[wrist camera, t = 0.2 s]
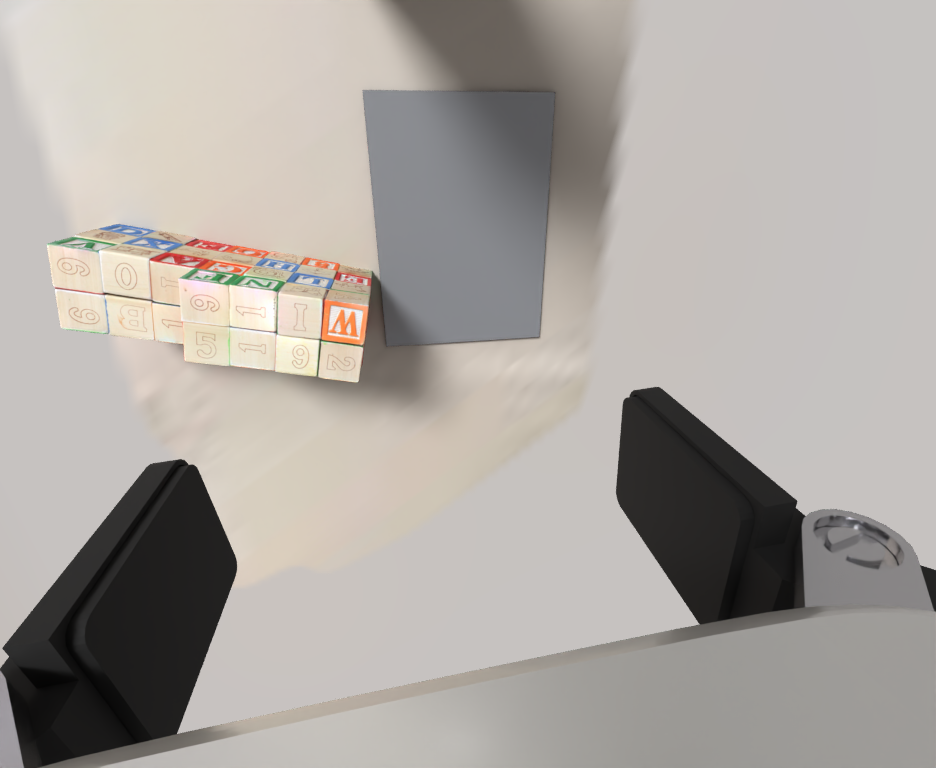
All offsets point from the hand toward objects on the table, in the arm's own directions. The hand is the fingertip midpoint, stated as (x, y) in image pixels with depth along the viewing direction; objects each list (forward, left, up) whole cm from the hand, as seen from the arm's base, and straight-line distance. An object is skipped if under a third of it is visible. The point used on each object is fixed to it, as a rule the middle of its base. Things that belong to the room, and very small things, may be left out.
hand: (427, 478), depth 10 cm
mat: (0, +6, -36) cm, 37 cm away
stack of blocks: (+4, -13, -37) cm, 39 cm away
